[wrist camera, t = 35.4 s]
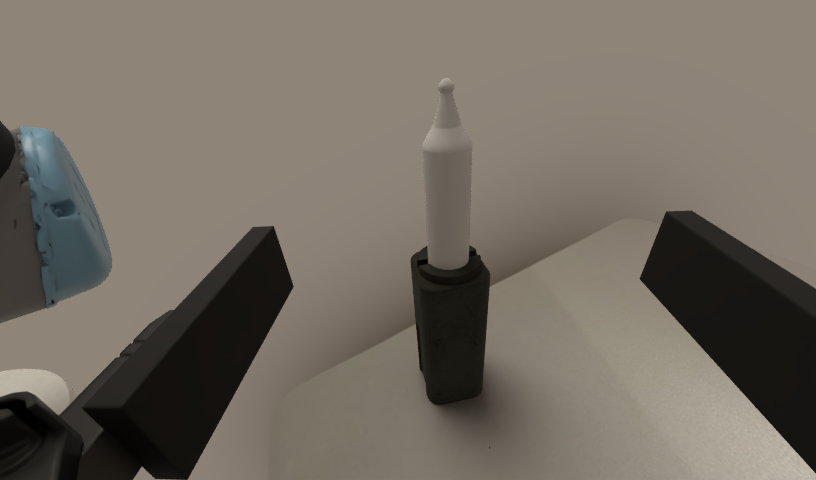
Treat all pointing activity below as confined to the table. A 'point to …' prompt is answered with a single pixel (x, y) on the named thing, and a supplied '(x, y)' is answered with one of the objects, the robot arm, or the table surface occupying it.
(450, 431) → the table surface
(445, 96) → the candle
